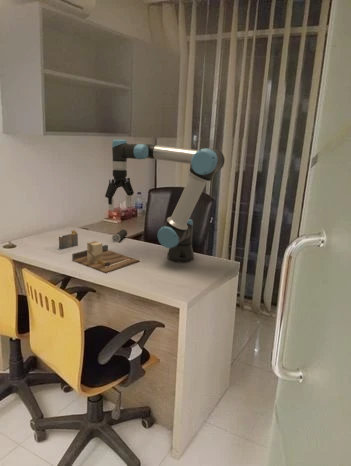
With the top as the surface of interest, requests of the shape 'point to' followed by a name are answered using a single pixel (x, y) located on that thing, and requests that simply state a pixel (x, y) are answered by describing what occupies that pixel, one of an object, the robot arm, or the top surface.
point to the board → (108, 256)
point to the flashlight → (119, 235)
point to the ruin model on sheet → (68, 240)
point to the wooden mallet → (95, 253)
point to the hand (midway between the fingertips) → (120, 208)
